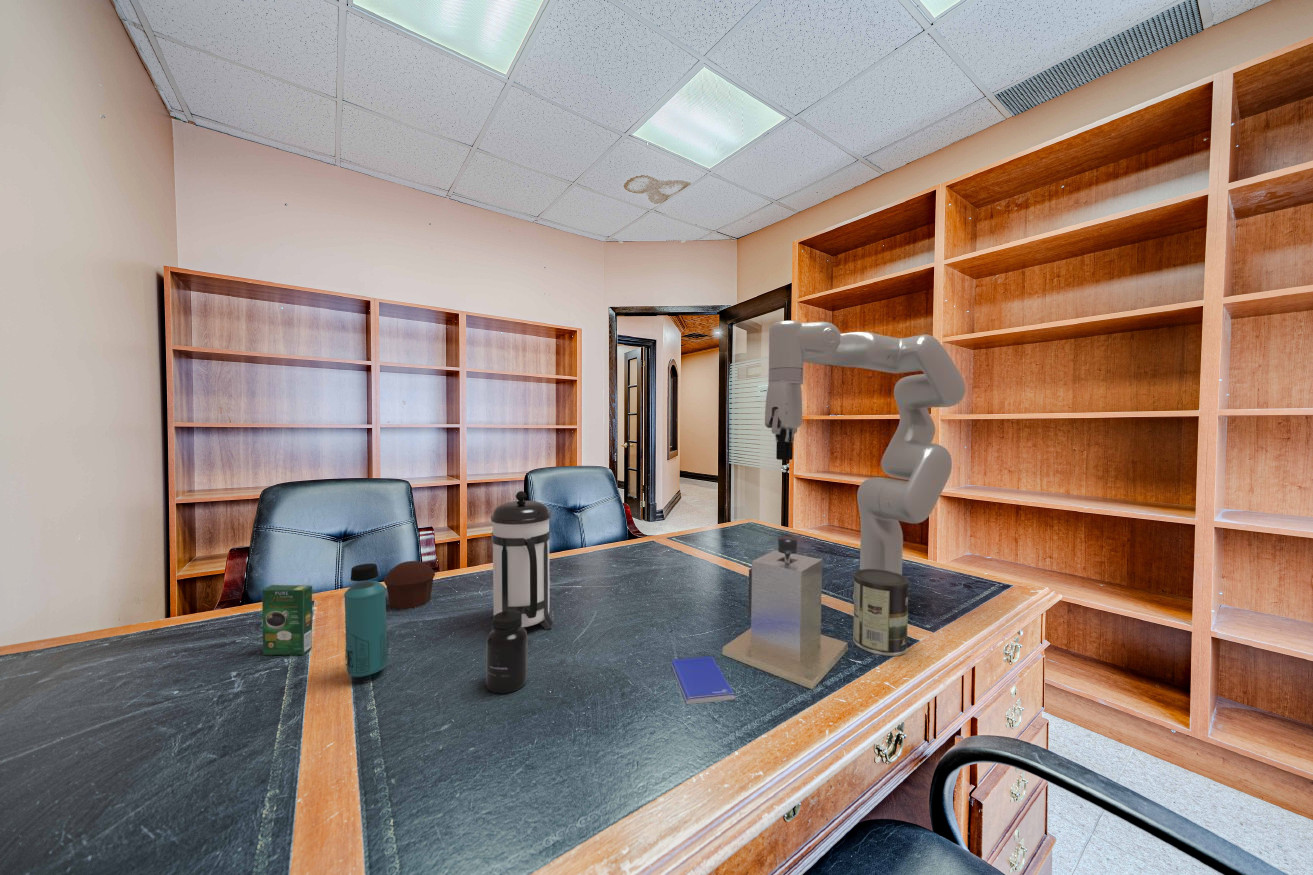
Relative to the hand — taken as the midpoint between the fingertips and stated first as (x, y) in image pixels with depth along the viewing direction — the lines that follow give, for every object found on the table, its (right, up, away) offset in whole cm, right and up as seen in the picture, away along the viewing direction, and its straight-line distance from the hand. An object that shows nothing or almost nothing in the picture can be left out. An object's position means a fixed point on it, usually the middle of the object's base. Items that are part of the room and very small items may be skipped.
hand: (784, 459), depth 106 cm
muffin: (-90, -37, +11) cm, 98 cm away
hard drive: (-21, -39, -23) cm, 50 cm away
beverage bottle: (-81, -38, -22) cm, 92 cm away
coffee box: (-101, -37, -14) cm, 109 cm away
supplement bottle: (-55, -38, -24) cm, 71 cm away
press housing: (-3, -38, -13) cm, 40 cm away
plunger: (-3, -32, -13) cm, 34 cm away
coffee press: (-58, -37, -2) cm, 69 cm away
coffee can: (+17, -38, -9) cm, 42 cm away
